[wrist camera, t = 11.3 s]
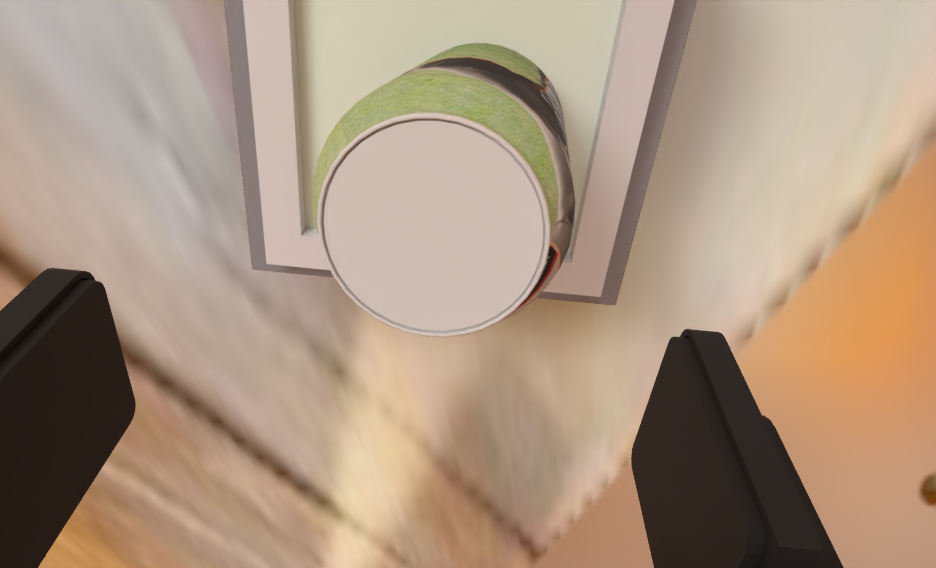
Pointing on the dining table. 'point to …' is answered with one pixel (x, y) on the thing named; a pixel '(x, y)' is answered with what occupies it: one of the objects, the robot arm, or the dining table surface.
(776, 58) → the dining table surface
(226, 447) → the dining table surface
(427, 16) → the stand
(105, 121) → the dining table surface
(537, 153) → the beverage can
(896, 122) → the dining table surface
